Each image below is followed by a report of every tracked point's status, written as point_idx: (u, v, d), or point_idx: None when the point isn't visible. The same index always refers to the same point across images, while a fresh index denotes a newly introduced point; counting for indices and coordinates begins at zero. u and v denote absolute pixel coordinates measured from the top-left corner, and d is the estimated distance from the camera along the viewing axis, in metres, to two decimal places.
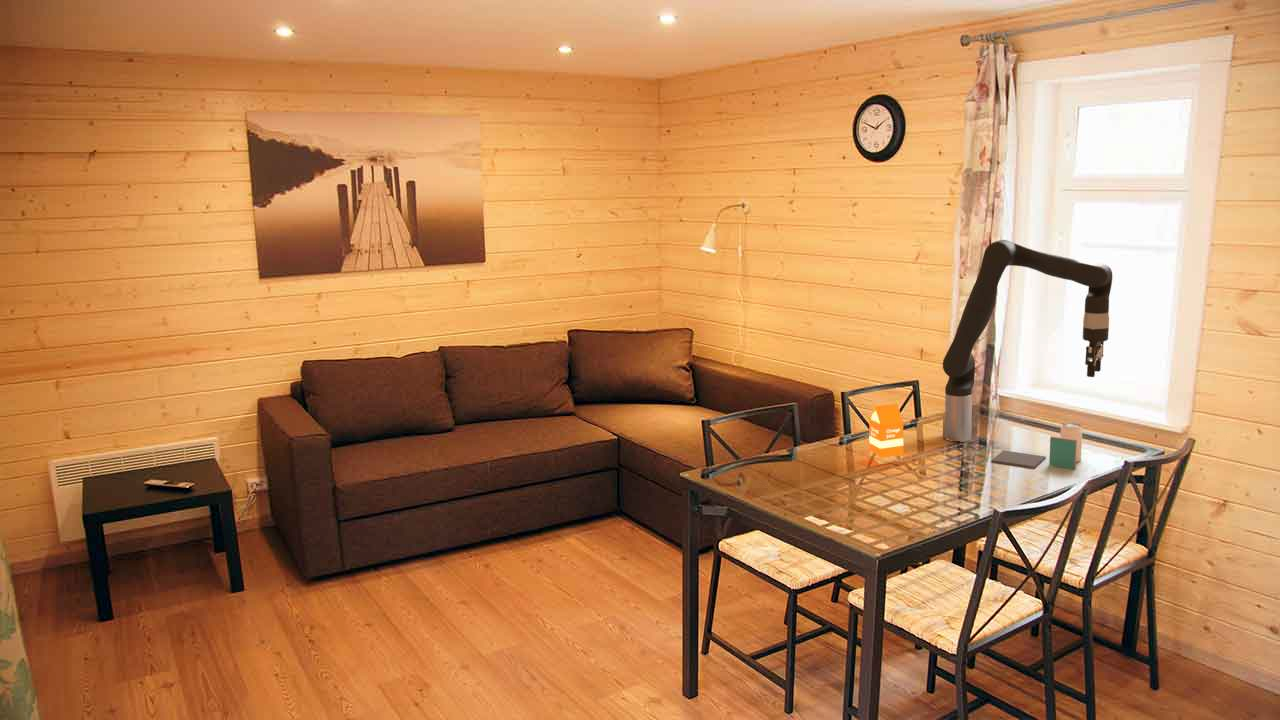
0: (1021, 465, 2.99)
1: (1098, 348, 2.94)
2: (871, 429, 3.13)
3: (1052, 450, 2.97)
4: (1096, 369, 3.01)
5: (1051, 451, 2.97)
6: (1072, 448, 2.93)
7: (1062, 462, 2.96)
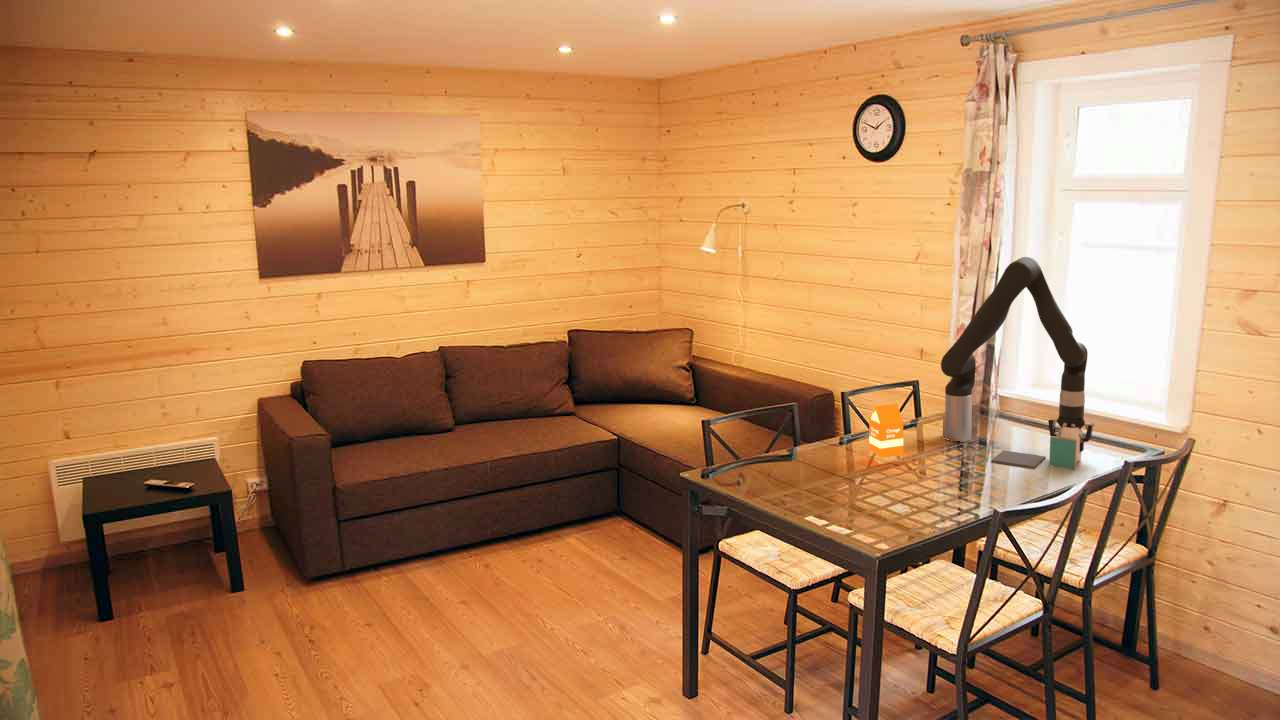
0: (1021, 465, 2.99)
1: None
2: (871, 429, 3.13)
3: (1052, 450, 2.97)
4: None
5: (1051, 451, 2.97)
6: (1072, 448, 2.93)
7: (1062, 462, 2.96)
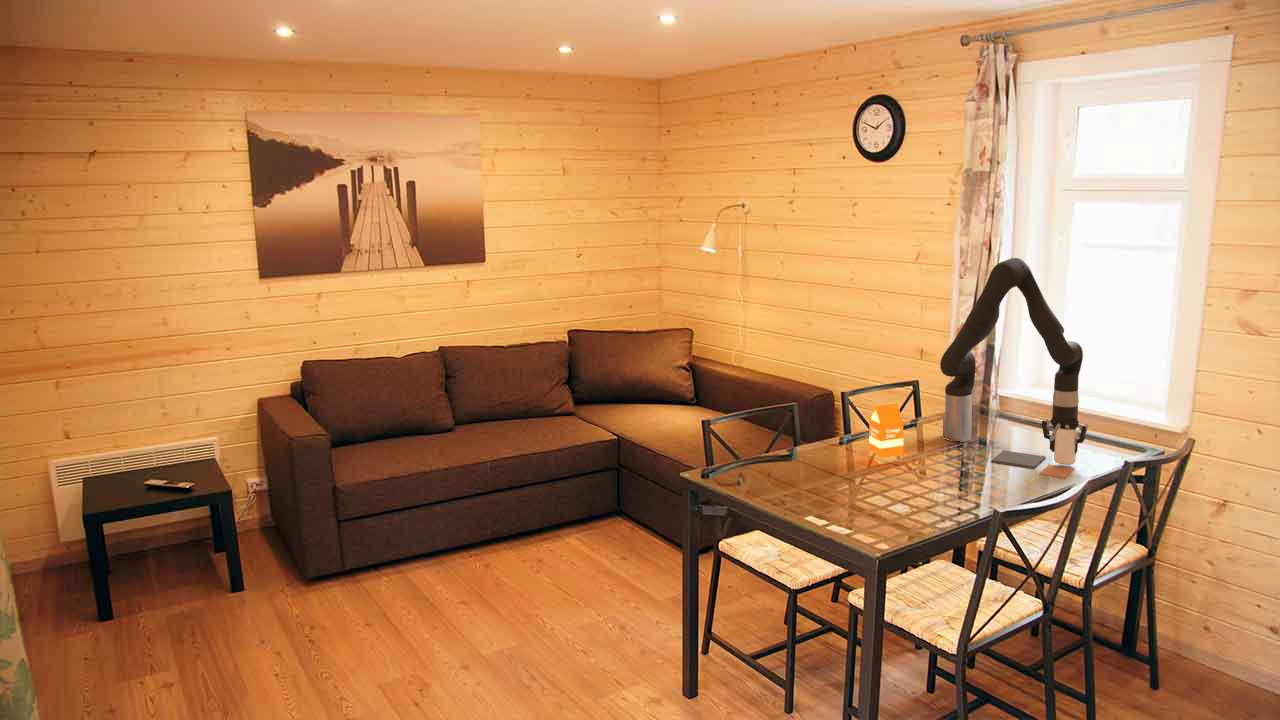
0: (1021, 465, 2.99)
1: None
2: (871, 429, 3.13)
3: None
4: None
5: None
6: None
7: None
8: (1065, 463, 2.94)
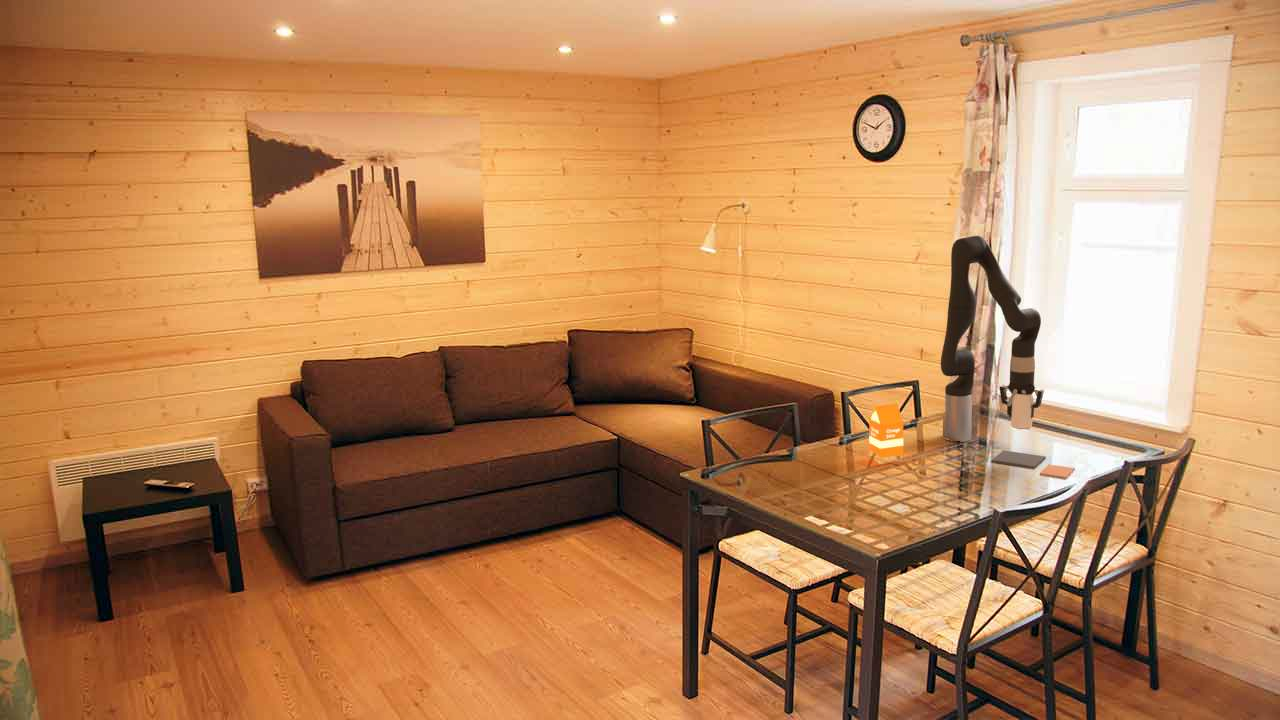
0: (1021, 465, 2.99)
1: None
2: (871, 429, 3.13)
3: None
4: (1011, 414, 3.05)
5: None
6: None
7: None
8: (1021, 427, 3.01)
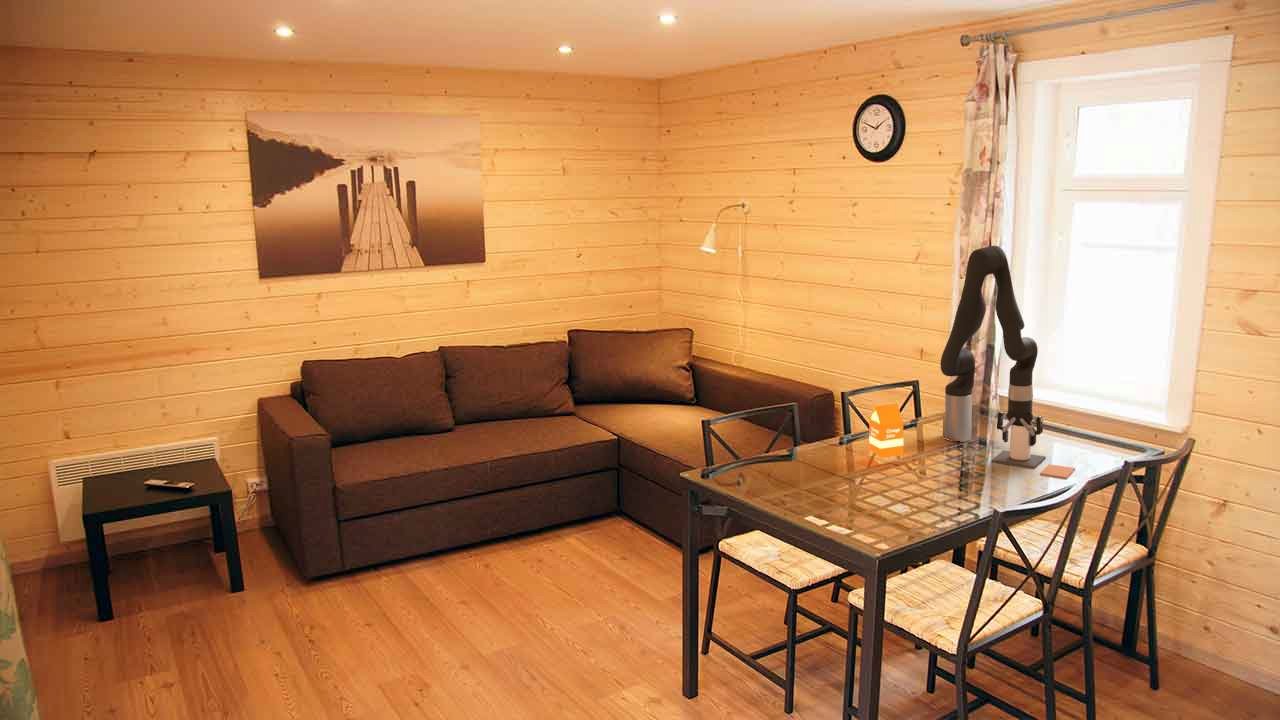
0: (1021, 465, 2.99)
1: None
2: (871, 429, 3.13)
3: None
4: (1007, 440, 3.07)
5: None
6: None
7: None
8: (1020, 459, 3.03)
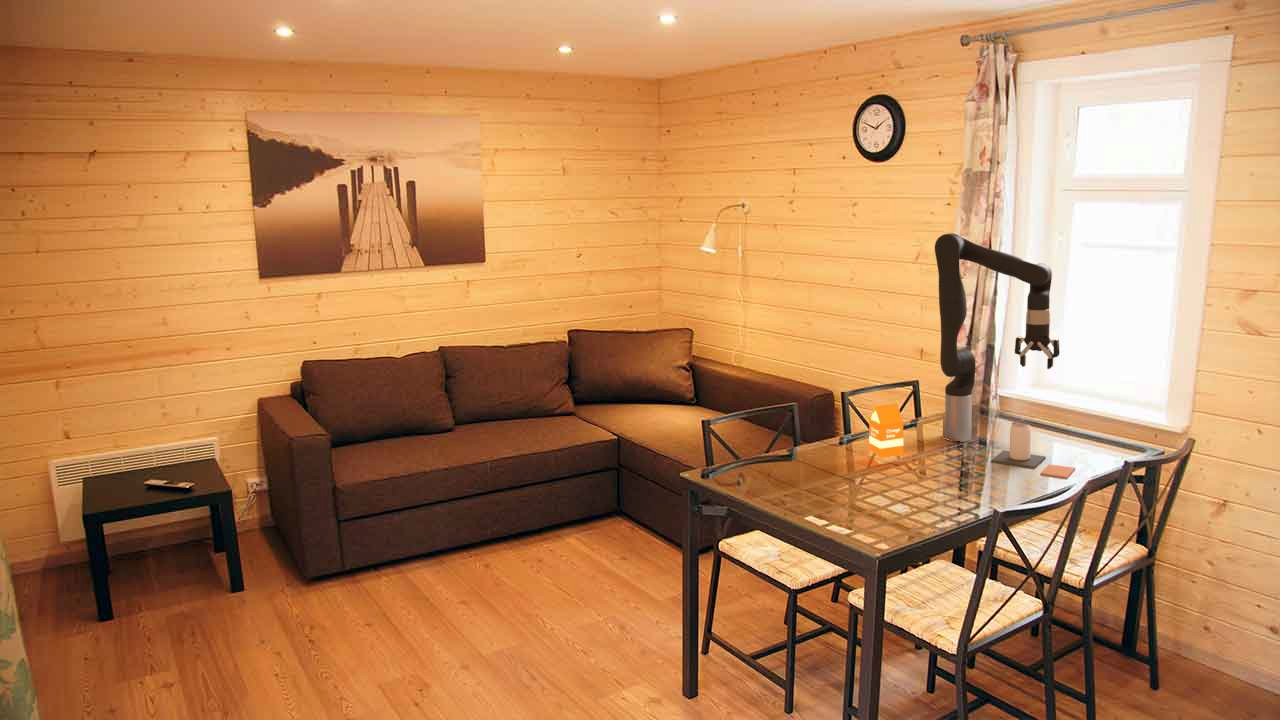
0: (1021, 465, 2.99)
1: None
2: (871, 429, 3.13)
3: None
4: (1024, 364, 3.18)
5: None
6: None
7: None
8: (1020, 459, 3.03)
